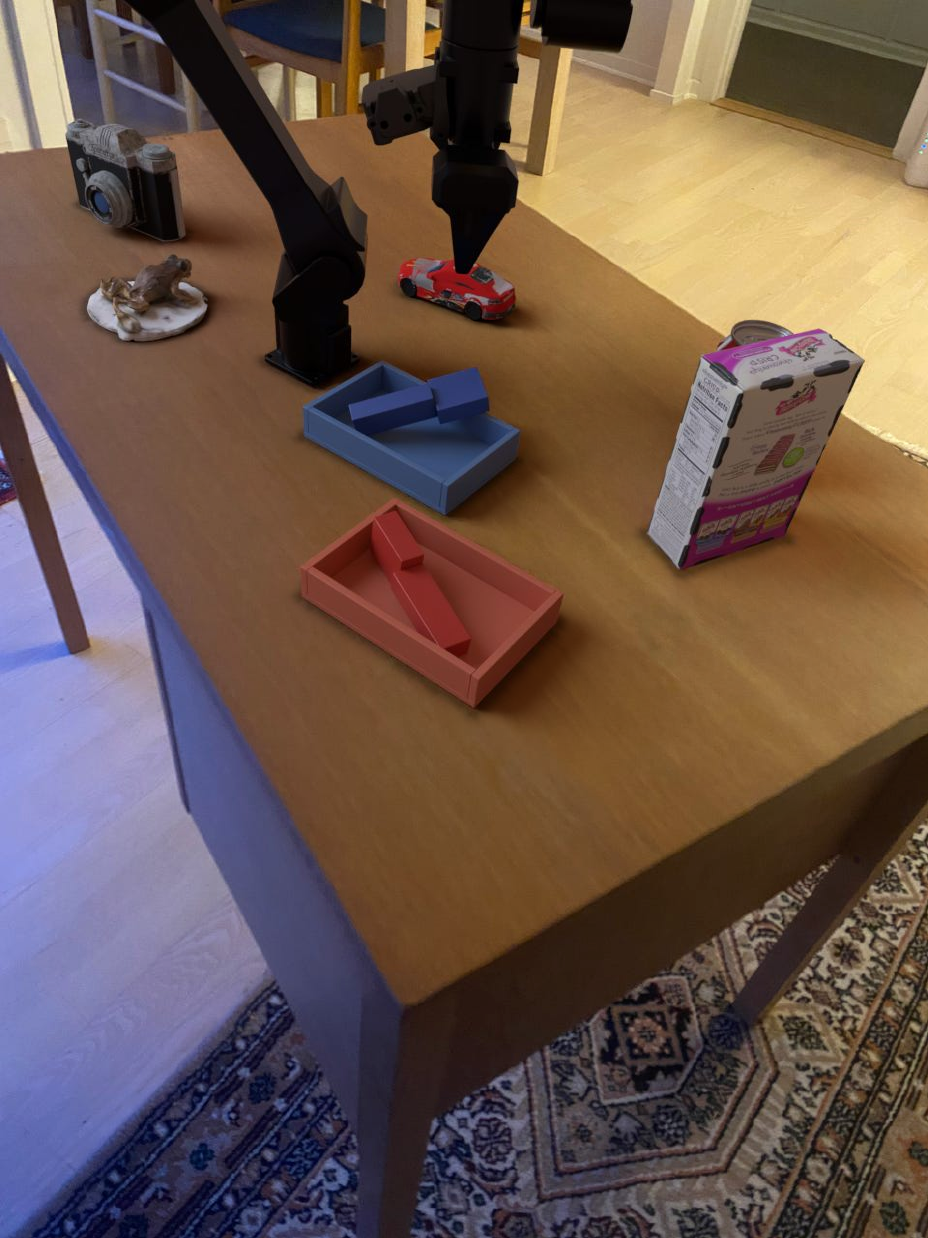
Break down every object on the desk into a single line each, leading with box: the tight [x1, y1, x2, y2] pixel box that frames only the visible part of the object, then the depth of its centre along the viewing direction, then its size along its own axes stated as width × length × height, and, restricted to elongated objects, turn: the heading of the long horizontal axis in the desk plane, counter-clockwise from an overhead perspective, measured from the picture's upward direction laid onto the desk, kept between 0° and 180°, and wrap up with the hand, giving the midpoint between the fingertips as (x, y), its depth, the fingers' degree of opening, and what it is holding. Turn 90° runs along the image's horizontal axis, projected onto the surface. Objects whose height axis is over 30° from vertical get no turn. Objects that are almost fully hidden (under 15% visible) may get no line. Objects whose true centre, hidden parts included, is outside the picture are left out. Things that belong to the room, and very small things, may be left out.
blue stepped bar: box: [349, 366, 491, 436], centre depth 76 cm, size 11×4×2 cm, turn 103°
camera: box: [64, 117, 187, 242], centre depth 96 cm, size 15×7×10 cm, turn 58°
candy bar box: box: [646, 328, 866, 571], centre depth 67 cm, size 11×5×16 cm, turn 118°
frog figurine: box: [86, 254, 208, 342], centre depth 87 cm, size 12×12×4 cm
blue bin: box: [302, 360, 522, 516], centre depth 76 cm, size 15×10×3 cm
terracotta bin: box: [300, 497, 565, 709], centre depth 63 cm, size 15×10×3 cm
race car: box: [397, 257, 517, 321], centre depth 94 cm, size 13×5×4 cm, turn 60°
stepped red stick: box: [370, 511, 471, 657], centre depth 62 cm, size 11×4×2 cm
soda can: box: [715, 319, 794, 352], centre depth 76 cm, size 7×7×12 cm
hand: (459, 247), depth 77 cm, fingers open, 9 cm apart
